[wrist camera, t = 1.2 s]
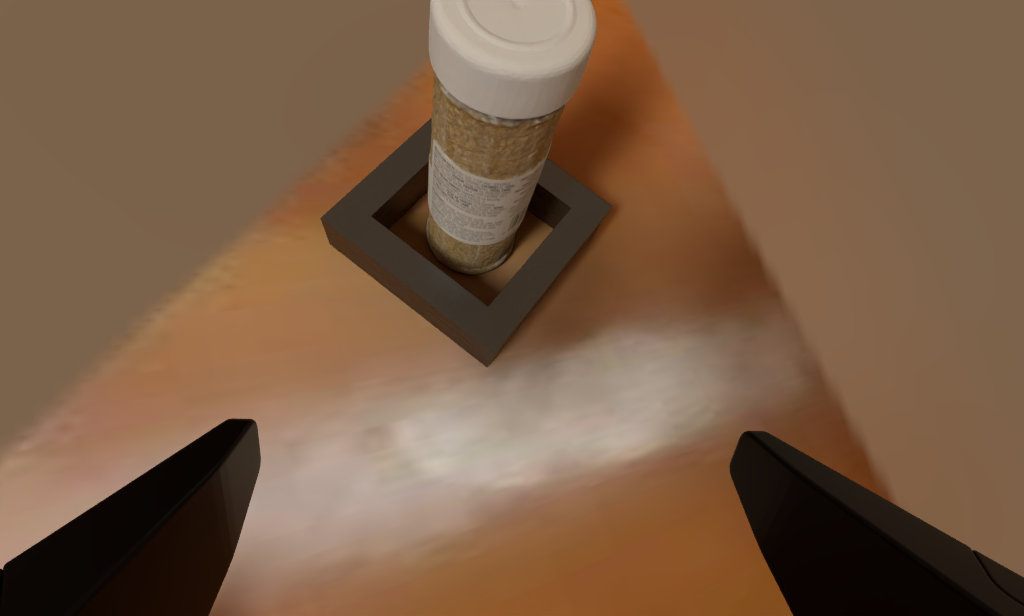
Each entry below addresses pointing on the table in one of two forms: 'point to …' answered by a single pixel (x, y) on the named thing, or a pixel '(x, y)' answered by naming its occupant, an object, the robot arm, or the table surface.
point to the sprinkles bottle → (496, 116)
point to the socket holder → (425, 287)
